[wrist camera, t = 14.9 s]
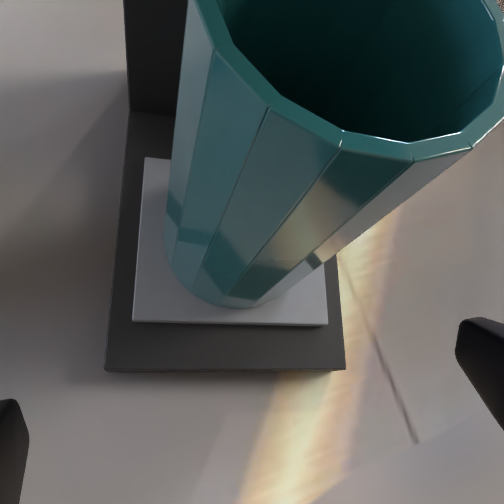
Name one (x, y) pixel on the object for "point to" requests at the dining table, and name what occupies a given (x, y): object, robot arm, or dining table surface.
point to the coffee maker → (154, 257)
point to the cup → (316, 129)
